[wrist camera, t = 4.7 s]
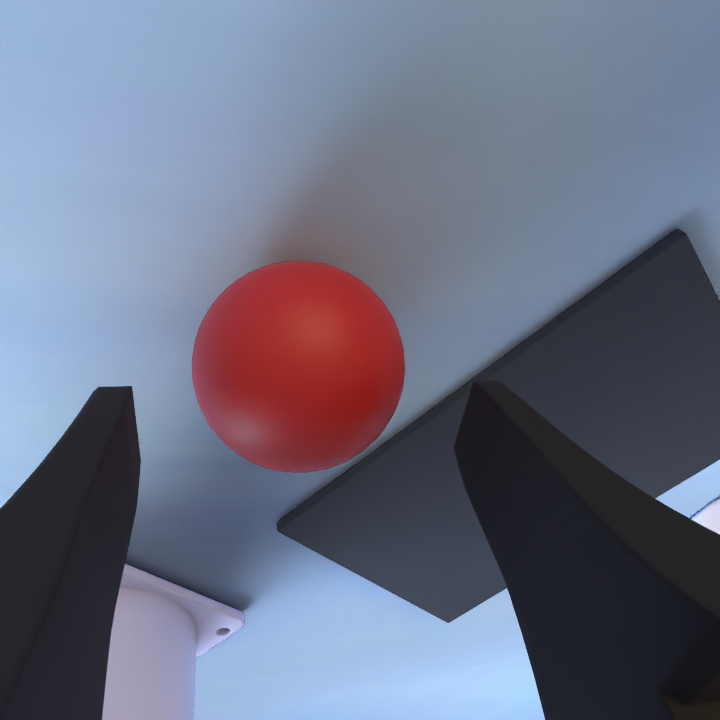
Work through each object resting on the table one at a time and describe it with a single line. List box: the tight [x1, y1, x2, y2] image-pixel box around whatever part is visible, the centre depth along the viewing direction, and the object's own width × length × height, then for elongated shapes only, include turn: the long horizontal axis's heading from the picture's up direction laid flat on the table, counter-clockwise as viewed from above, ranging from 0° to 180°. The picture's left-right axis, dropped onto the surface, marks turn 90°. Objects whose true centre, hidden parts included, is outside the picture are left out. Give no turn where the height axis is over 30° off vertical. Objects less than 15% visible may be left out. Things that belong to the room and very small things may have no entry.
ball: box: [192, 261, 405, 473], centre depth 14 cm, size 5×5×5 cm
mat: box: [277, 229, 720, 623], centre depth 22 cm, size 16×11×1 cm
